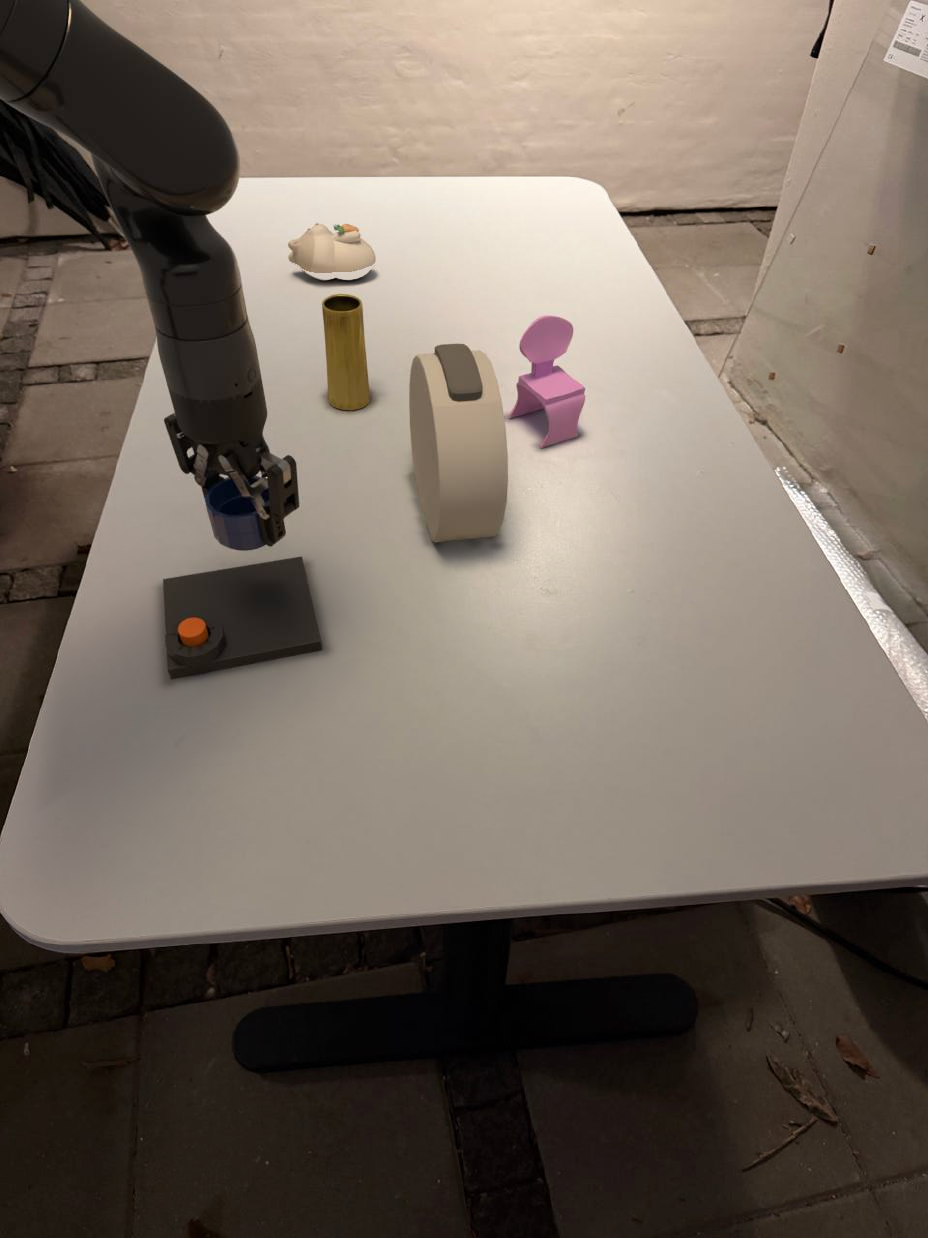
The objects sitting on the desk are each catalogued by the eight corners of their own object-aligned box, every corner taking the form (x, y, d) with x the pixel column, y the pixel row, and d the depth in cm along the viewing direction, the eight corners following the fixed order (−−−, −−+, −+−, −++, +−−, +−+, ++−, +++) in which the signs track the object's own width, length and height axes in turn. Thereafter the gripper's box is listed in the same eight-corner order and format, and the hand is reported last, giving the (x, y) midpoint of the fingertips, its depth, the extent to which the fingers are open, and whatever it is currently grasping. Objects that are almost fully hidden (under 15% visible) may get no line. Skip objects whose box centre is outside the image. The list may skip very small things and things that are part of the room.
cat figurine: (377, 218, 132) (287, 209, 128) (379, 260, 130) (288, 252, 127) (371, 254, 141) (287, 247, 137) (373, 294, 139) (288, 288, 136)
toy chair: (536, 452, 104) (550, 349, 93) (501, 419, 109) (510, 317, 98) (585, 436, 108) (604, 334, 96) (549, 404, 112) (563, 304, 101)
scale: (171, 680, 76) (163, 661, 74) (165, 587, 85) (159, 568, 83) (322, 651, 80) (319, 632, 77) (303, 565, 88) (300, 545, 86)
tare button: (182, 649, 76) (178, 639, 75) (180, 630, 77) (177, 620, 76) (209, 644, 76) (206, 634, 75) (207, 625, 78) (204, 615, 77)
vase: (371, 410, 110) (366, 313, 99) (328, 412, 109) (318, 314, 98) (369, 387, 114) (364, 291, 103) (327, 388, 113) (317, 292, 102)
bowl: (217, 558, 73) (207, 522, 70) (212, 516, 77) (202, 479, 74) (285, 547, 75) (279, 511, 71) (276, 506, 79) (270, 470, 76)
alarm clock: (501, 558, 90) (517, 410, 76) (438, 565, 89) (442, 416, 74) (464, 450, 104) (471, 308, 89) (409, 455, 103) (407, 311, 88)
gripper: (116, 362, 64) (166, 518, 76) (244, 422, 59) (275, 578, 71) (185, 327, 68) (222, 480, 80) (310, 380, 63) (329, 534, 75)
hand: (247, 525), depth 76 cm, fingers closed on bowl, 6 cm apart
